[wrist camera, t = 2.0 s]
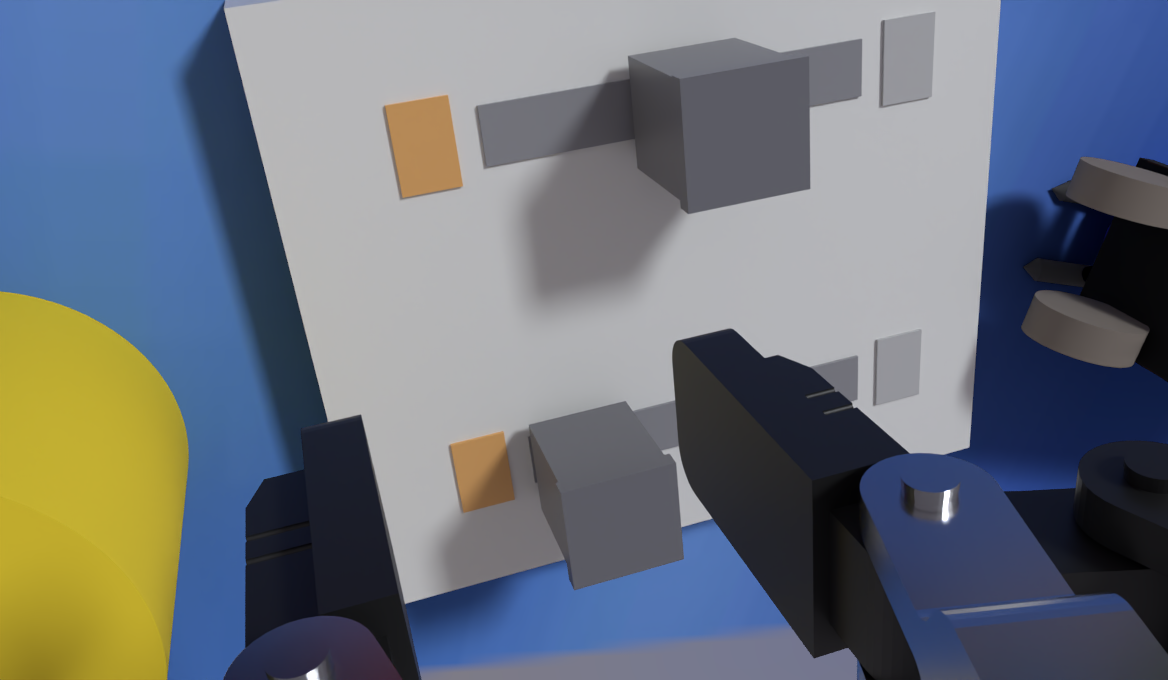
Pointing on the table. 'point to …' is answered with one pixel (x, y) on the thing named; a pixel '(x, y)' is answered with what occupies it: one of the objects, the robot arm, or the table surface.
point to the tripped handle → (722, 122)
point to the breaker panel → (604, 233)
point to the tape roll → (85, 499)
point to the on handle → (607, 493)
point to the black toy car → (1111, 272)
